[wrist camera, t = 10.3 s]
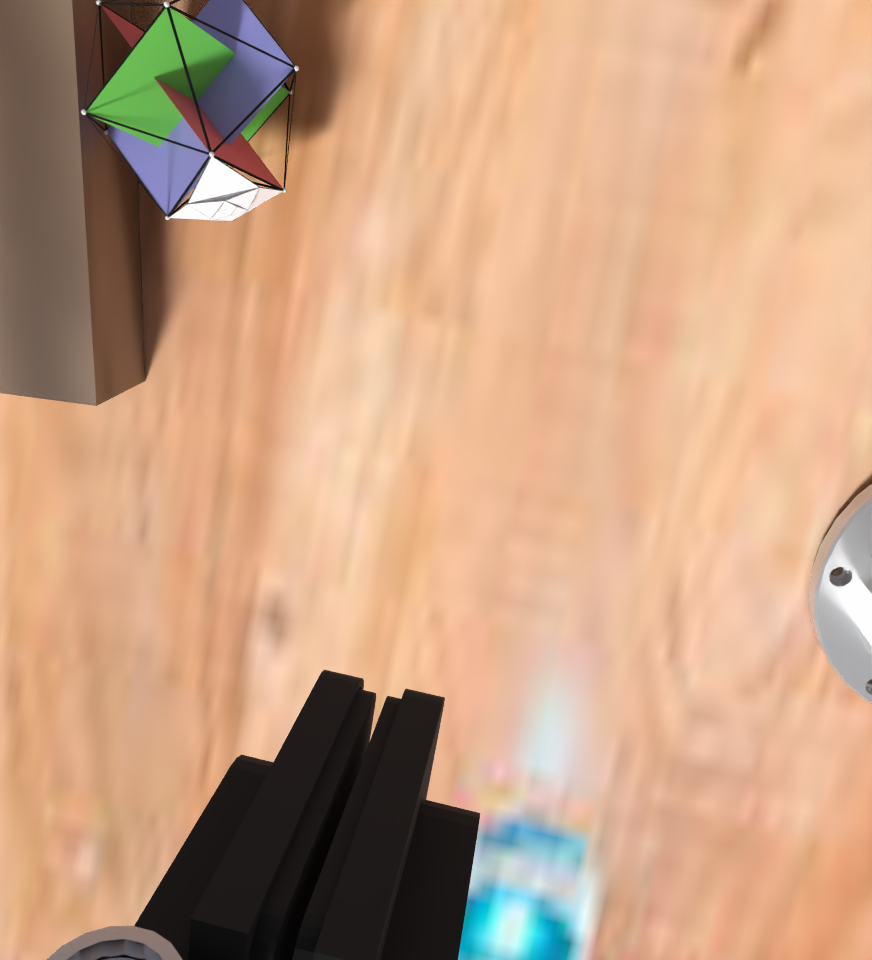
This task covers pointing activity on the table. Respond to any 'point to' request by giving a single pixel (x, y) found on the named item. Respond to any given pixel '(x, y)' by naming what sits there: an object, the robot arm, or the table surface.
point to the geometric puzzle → (195, 106)
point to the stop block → (65, 210)
